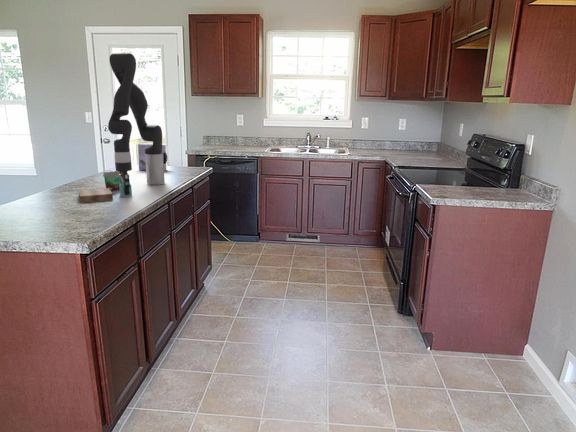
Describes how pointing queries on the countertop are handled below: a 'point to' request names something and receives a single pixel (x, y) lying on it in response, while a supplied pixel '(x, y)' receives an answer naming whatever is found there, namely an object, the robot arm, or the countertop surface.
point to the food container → (112, 180)
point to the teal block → (123, 191)
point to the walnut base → (95, 195)
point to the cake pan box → (142, 155)
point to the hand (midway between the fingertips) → (125, 193)
